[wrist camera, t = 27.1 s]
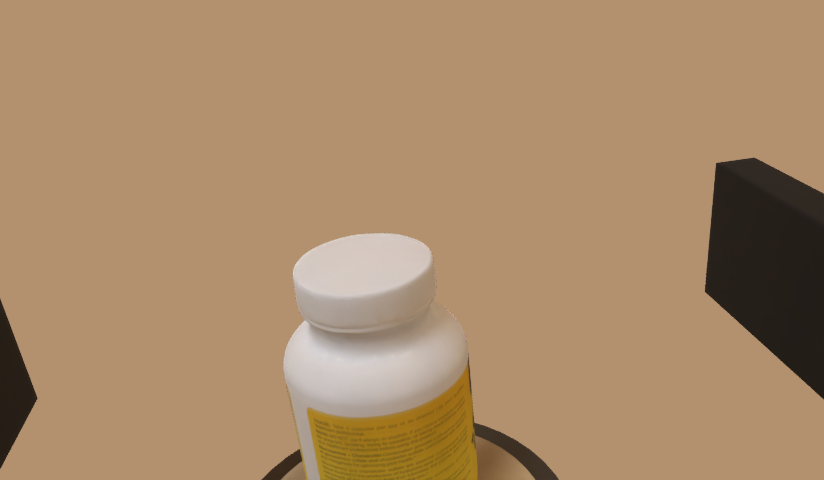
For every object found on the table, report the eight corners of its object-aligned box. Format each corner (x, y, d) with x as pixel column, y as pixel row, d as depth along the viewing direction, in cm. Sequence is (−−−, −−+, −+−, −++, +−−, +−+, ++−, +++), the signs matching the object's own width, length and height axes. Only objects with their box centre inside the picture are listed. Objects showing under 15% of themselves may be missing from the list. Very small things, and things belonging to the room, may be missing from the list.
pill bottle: (507, 564, 27) (491, 283, 22) (333, 617, 25) (275, 331, 20) (450, 451, 32) (428, 209, 27) (306, 489, 31) (256, 243, 26)
